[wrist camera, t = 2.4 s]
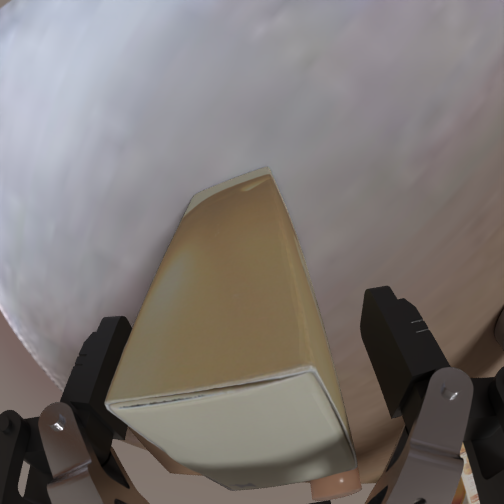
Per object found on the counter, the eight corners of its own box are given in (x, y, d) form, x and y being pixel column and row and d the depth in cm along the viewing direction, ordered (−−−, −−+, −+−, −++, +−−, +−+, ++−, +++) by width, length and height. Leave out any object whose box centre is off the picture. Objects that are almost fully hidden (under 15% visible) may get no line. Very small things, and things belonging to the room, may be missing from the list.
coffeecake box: (445, 434, 36) (474, 524, 19) (469, 427, 37) (498, 509, 20) (399, 468, 44) (417, 545, 27) (424, 462, 44) (443, 533, 28)
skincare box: (306, 261, 17) (363, 472, 7) (237, 284, 18) (233, 495, 8) (267, 157, 14) (324, 369, 4) (187, 190, 15) (94, 412, 5)
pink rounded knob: (358, 447, 33) (366, 483, 28) (351, 462, 37) (357, 494, 32) (308, 456, 34) (313, 494, 29) (307, 470, 37) (311, 502, 32)
